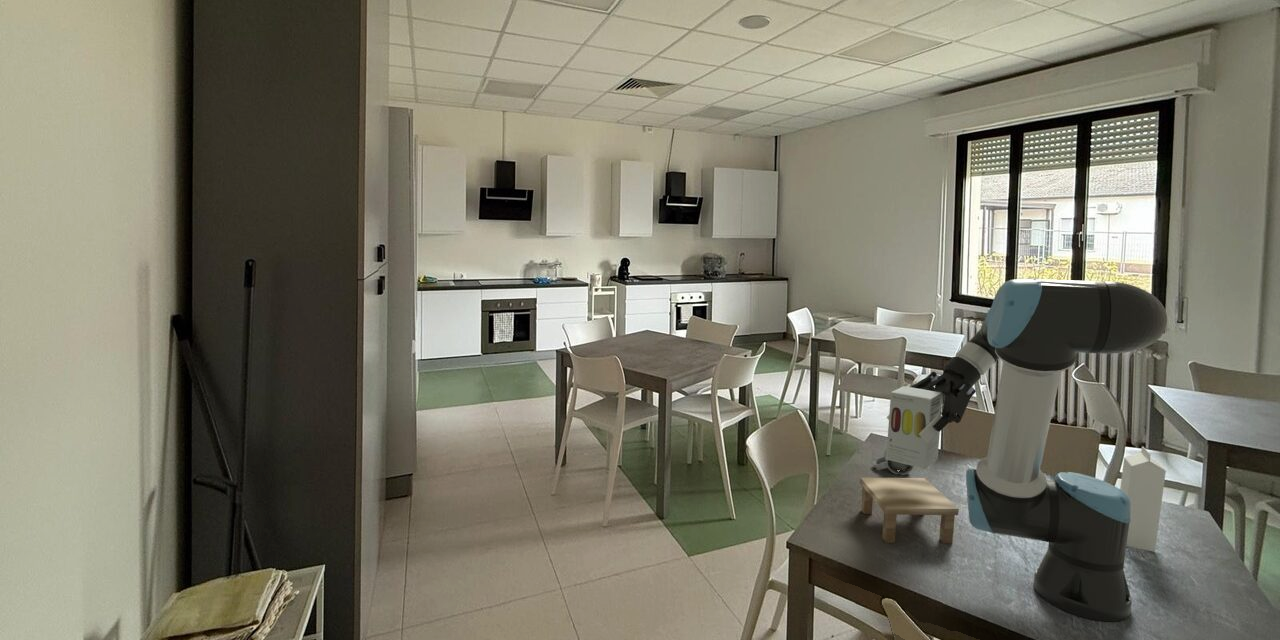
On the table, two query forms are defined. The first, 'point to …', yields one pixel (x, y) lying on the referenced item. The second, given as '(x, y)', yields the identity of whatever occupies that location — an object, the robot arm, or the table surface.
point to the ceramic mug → (892, 465)
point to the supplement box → (912, 426)
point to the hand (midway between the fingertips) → (905, 429)
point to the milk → (1143, 498)
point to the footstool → (907, 503)
